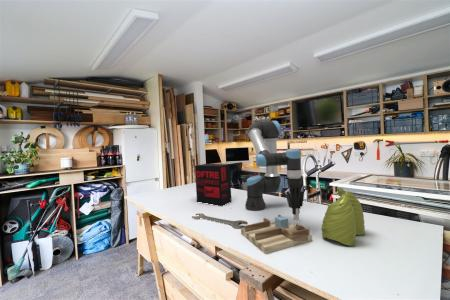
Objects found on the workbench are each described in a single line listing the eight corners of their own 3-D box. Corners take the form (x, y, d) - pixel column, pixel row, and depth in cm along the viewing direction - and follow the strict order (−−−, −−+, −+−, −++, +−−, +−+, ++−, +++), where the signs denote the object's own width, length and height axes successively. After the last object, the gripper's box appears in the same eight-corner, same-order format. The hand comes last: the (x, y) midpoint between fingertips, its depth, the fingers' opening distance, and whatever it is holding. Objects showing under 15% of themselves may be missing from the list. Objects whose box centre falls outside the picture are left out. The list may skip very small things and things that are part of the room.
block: (275, 226, 118) (274, 217, 118) (282, 224, 120) (282, 215, 120) (280, 229, 114) (280, 220, 114) (288, 227, 116) (288, 218, 115)
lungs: (337, 224, 124) (335, 183, 123) (368, 232, 112) (367, 186, 111) (317, 239, 107) (315, 191, 106) (351, 250, 95) (349, 196, 94)
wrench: (189, 219, 148) (188, 216, 147) (199, 214, 156) (198, 211, 156) (242, 230, 123) (241, 227, 123) (250, 224, 132) (250, 221, 131)
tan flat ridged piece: (241, 233, 118) (240, 222, 118) (281, 224, 128) (281, 214, 128) (265, 253, 96) (264, 240, 96) (312, 240, 106) (311, 228, 106)
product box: (197, 202, 186) (194, 165, 185) (207, 198, 198) (205, 163, 197) (221, 206, 171) (219, 166, 170) (231, 201, 182) (229, 164, 181)
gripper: (299, 175, 124) (300, 215, 125) (280, 177, 119) (282, 220, 120) (308, 176, 117) (310, 219, 118) (289, 179, 113) (291, 224, 113)
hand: (296, 219), depth 119 cm, fingers closed
